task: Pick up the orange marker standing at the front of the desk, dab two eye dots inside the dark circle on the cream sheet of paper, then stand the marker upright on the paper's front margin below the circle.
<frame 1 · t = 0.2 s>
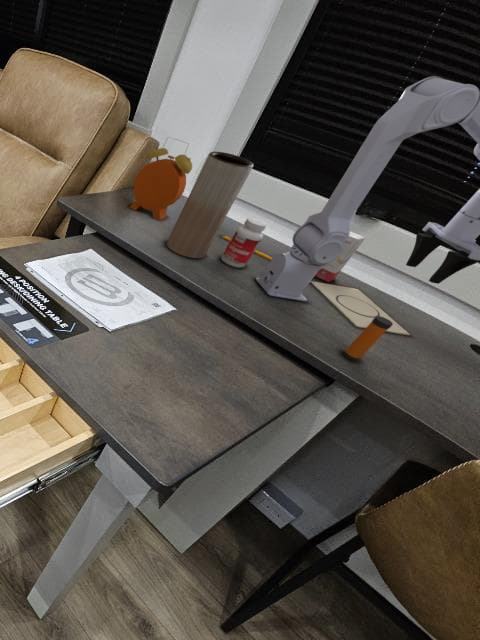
hand: (421, 273, 104), 10 cm above the table, tool pointing down, fingers open, 7 cm apart
planter: (184, 250, 119), on the table
pill bottle: (231, 263, 118), on the table
pencil: (251, 252, 126), on the table
alarm clock: (147, 212, 137), on the table
paper: (356, 307, 109), on the table
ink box: (313, 274, 121), on the table
marker: (350, 357, 91), on the table
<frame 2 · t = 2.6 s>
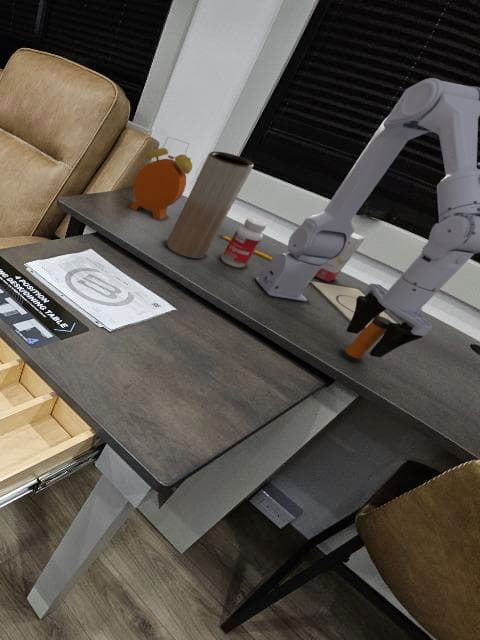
hand: (363, 343, 89), 3 cm above the table, tool pointing down, fingers open, 7 cm apart
nothing on the table moved.
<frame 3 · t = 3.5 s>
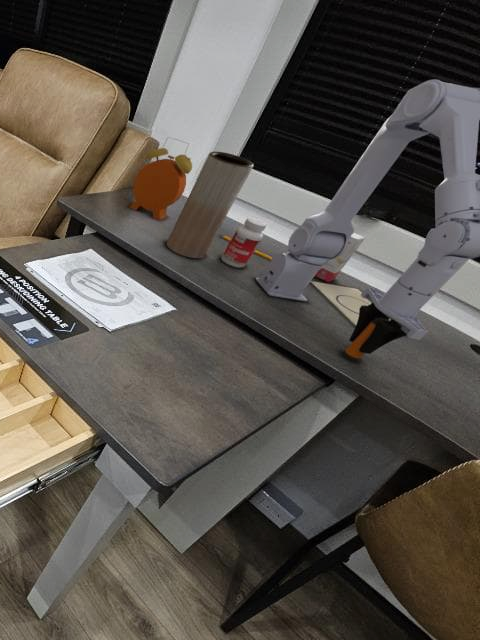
hand: (359, 346, 89), 3 cm above the table, tool pointing down, fingers closed on marker, 3 cm apart
marker: (349, 356, 91), on the table, touching gripper
everything else where it was.
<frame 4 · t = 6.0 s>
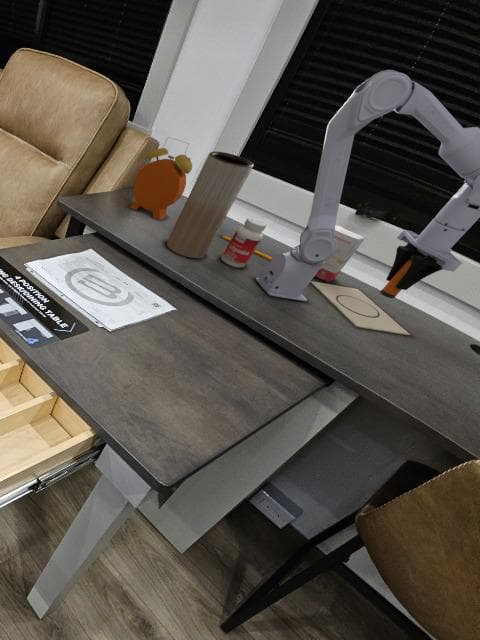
hand: (396, 284, 98), 9 cm above the table, tool pointing down, fingers closed on marker, 3 cm apart
marker: (386, 294, 100), point 7 cm above the table, touching gripper
everything else where it was.
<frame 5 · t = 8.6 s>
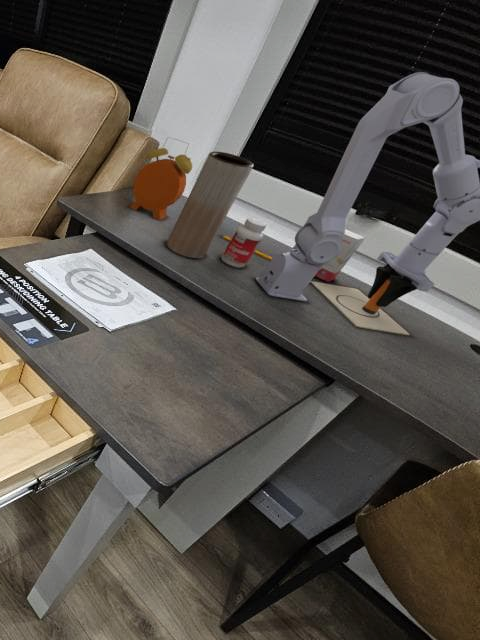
hand: (376, 302, 106), 3 cm above the table, tool pointing down, fingers closed on marker, 3 cm apart
marker: (368, 310, 108), resting on paper, touching gripper
everything else where it was.
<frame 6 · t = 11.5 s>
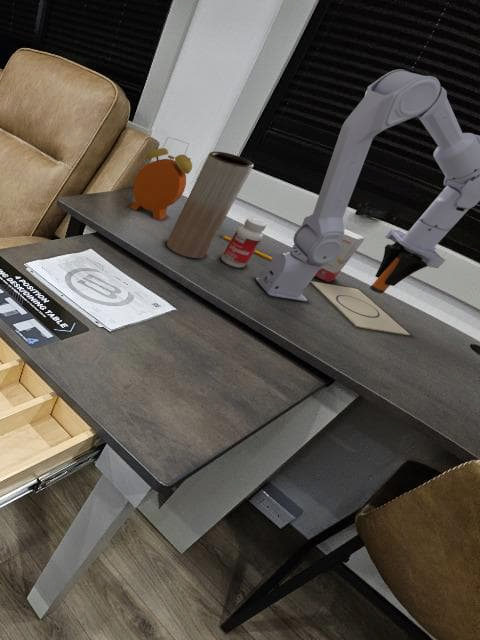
hand: (384, 281, 104), 7 cm above the table, tool pointing down, fingers closed on marker, 3 cm apart
marker: (376, 290, 106), point 5 cm above the table, touching gripper
everything else where it was.
when the fingers open (3 cm above the table, at t = 13.8 s): marker stays where it is, resting on paper.
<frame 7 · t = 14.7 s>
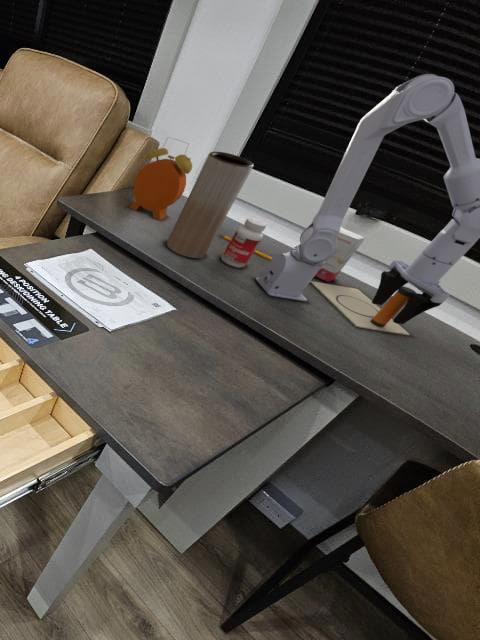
hand: (386, 313, 101), 3 cm above the table, tool pointing down, fingers open, 7 cm apart
marker: (376, 323, 103), resting on paper
everything else where it was.
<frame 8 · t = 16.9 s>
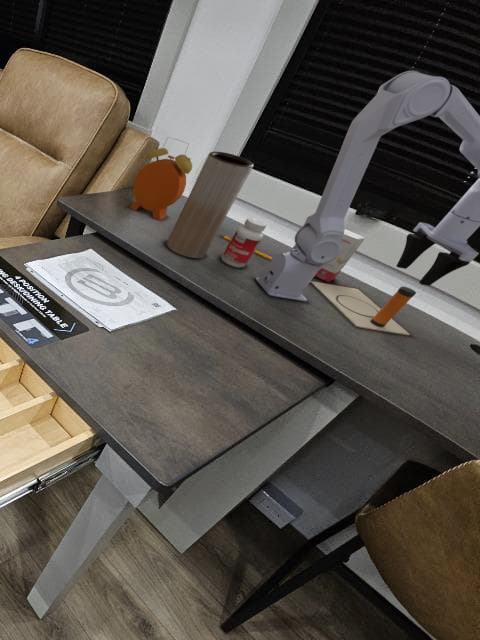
hand: (412, 275, 101), 10 cm above the table, tool pointing down, fingers open, 7 cm apart
nothing on the table moved.
at the end: marker 0.1 cm from the target spot on the paper, point 0.3 cm above the paper's base; marker tilted 0°; marker moved 22.3 cm from its start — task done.
